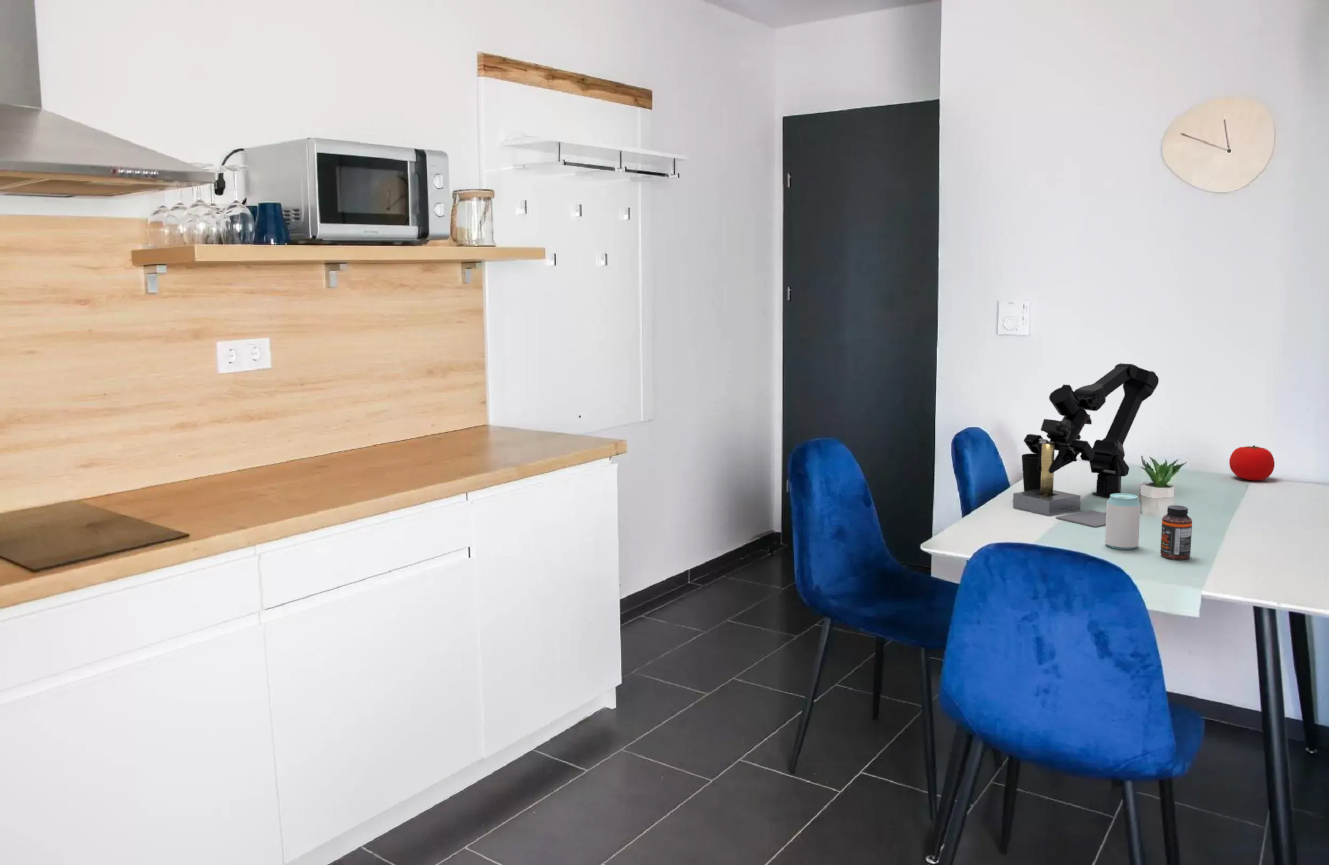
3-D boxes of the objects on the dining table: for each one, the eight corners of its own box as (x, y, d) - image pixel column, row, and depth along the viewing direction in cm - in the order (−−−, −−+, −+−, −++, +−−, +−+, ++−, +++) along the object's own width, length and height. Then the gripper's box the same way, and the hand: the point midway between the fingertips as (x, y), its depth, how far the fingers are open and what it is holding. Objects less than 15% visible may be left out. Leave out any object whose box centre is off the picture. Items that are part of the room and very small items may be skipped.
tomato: (1282, 483, 296) (1284, 448, 294) (1242, 483, 296) (1244, 449, 294) (1258, 475, 307) (1260, 442, 306) (1220, 476, 308) (1222, 442, 306)
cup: (1051, 500, 280) (1052, 458, 278) (1022, 499, 282) (1023, 457, 280) (1046, 494, 287) (1047, 453, 286) (1018, 494, 289) (1019, 453, 287)
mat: (1091, 511, 265) (1091, 510, 265) (1131, 520, 254) (1132, 518, 254) (1055, 518, 258) (1055, 516, 258) (1095, 527, 248) (1095, 526, 248)
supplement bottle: (1154, 553, 223) (1156, 504, 222) (1179, 552, 224) (1182, 503, 222) (1170, 560, 217) (1172, 510, 216) (1196, 559, 218) (1198, 509, 216)
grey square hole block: (1043, 502, 278) (1044, 488, 277) (1079, 510, 267) (1080, 495, 266) (1013, 507, 272) (1013, 493, 271) (1048, 515, 261) (1049, 500, 261)
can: (1141, 550, 226) (1144, 499, 224) (1108, 549, 227) (1110, 498, 226) (1134, 543, 233) (1136, 492, 231) (1101, 542, 234) (1103, 492, 233)
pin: (1049, 493, 271) (1051, 442, 269) (1055, 496, 267) (1056, 444, 265) (1038, 494, 270) (1039, 443, 268) (1043, 496, 267) (1045, 445, 265)
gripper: (1028, 405, 275) (1002, 448, 271) (1089, 411, 260) (1062, 457, 256) (1045, 430, 281) (1019, 473, 276) (1106, 437, 265) (1080, 483, 261)
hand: (1044, 471), depth 267 cm, fingers closed on pin, 3 cm apart
